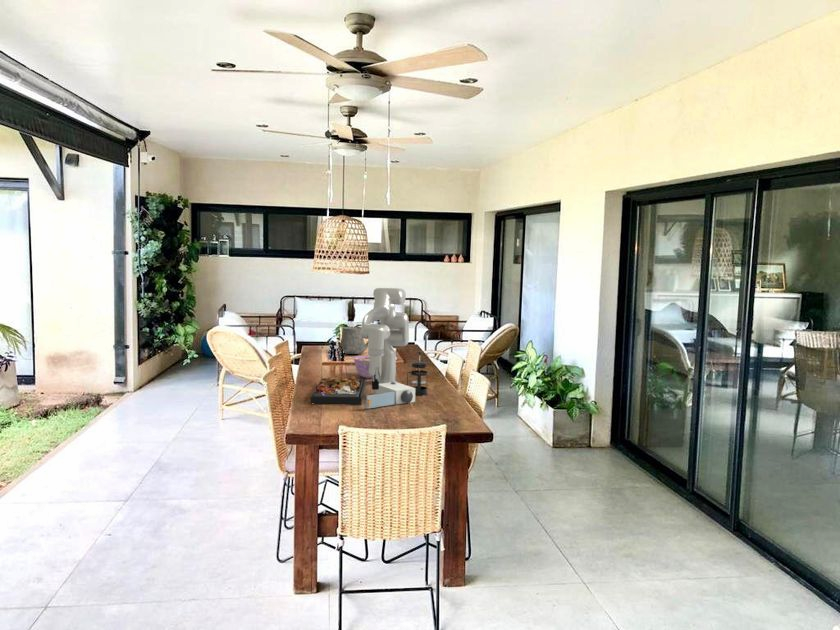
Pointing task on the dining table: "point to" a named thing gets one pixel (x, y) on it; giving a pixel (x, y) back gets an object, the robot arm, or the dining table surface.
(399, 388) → the grey box with knob
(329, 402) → the food platter
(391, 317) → the robot arm
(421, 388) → the french press
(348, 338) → the vessel
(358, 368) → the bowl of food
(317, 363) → the dining table surface
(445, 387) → the dining table surface
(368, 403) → the side door
